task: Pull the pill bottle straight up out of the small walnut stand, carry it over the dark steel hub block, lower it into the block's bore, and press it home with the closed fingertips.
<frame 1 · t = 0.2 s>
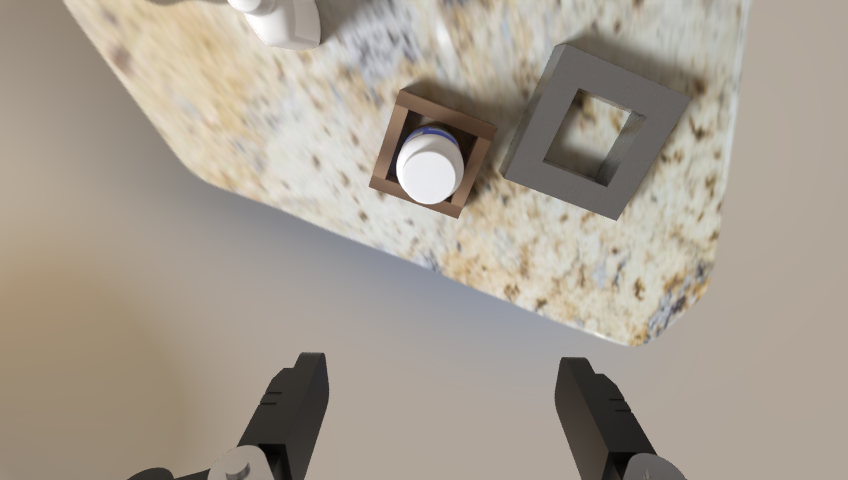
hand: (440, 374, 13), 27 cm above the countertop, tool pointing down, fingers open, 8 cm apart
pill bottle: (430, 152, 37), resting in walnut stand
eye dropper bottle: (299, 14, 33), on the countertop
steel hub block: (581, 134, 36), on the countertop
walnut stand: (430, 153, 37), on the countertop
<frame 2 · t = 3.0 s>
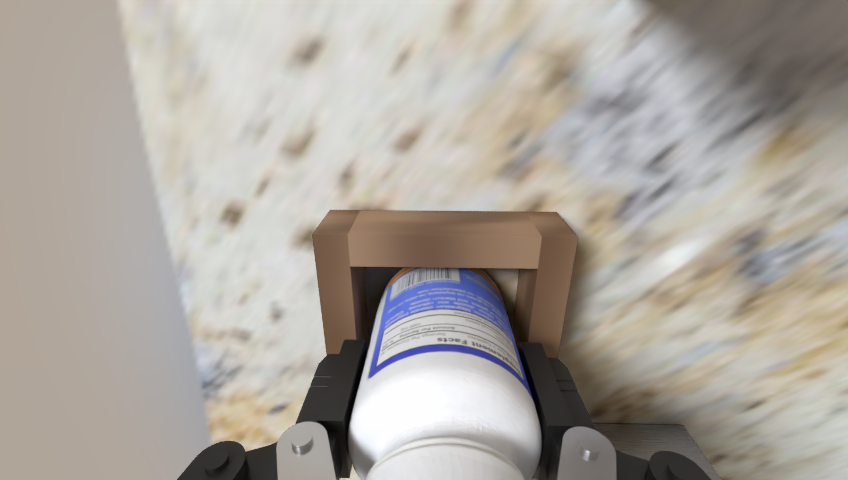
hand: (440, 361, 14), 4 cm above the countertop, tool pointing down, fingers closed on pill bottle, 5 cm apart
pill bottle: (440, 304, 17), resting in walnut stand, touching gripper
walnut stand: (440, 307, 17), on the countertop
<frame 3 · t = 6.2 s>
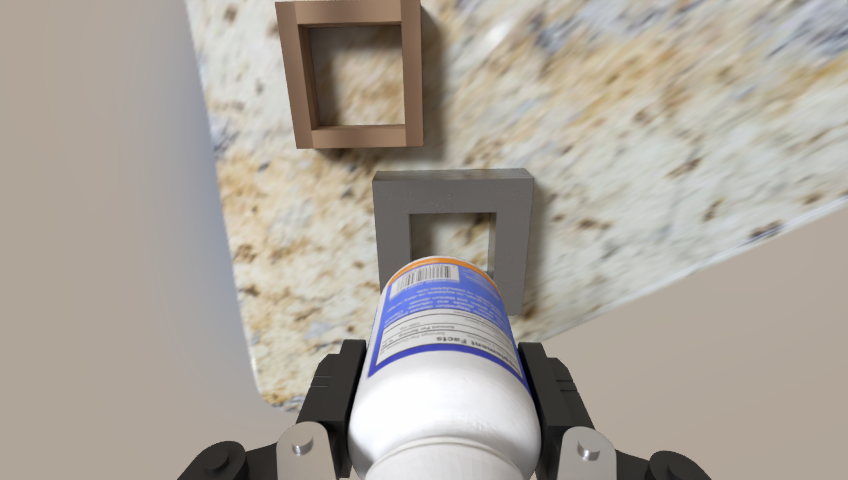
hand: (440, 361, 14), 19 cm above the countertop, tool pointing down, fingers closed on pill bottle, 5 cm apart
pill bottle: (440, 304, 17), point 15 cm above the countertop, touching gripper
steel hub block: (450, 237, 33), on the countertop
walnut stand: (360, 78, 28), on the countertop
when the fingers open (5 cm above the countertop, at t = 9.4 s): pill bottle drops 1 cm, resting in steel hub block.
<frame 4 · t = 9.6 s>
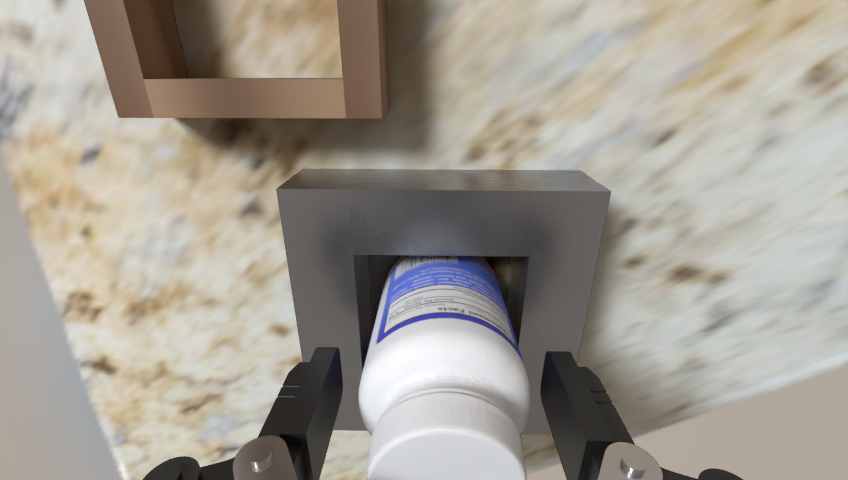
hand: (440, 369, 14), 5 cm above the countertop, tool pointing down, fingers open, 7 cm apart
pill bottle: (440, 287, 19), resting in steel hub block
steel hub block: (438, 290, 18), on the countertop
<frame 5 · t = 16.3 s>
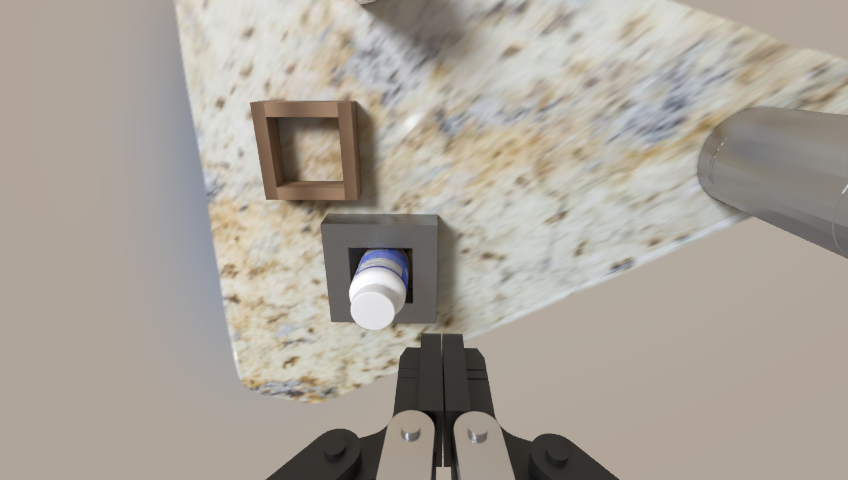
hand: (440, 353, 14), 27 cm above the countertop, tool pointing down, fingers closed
pill bottle: (385, 262, 43), resting in steel hub block
steel hub block: (384, 263, 43), on the countertop
walnut stand: (313, 148, 38), on the countertop
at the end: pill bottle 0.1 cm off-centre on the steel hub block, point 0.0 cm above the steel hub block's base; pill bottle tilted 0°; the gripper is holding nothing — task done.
